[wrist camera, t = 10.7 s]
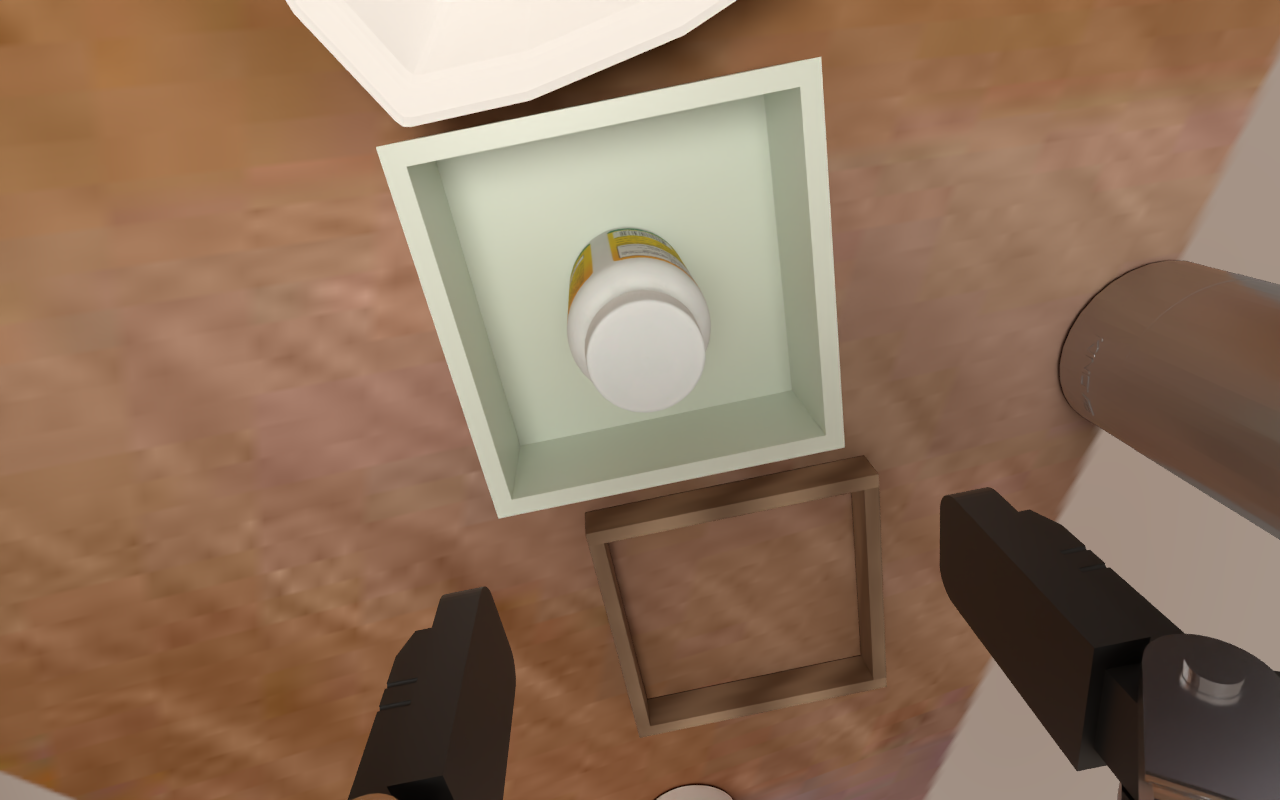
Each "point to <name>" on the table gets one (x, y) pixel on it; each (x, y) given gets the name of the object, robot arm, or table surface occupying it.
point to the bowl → (487, 46)
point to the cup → (695, 793)
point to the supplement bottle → (637, 320)
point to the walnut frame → (730, 503)
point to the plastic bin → (684, 217)
